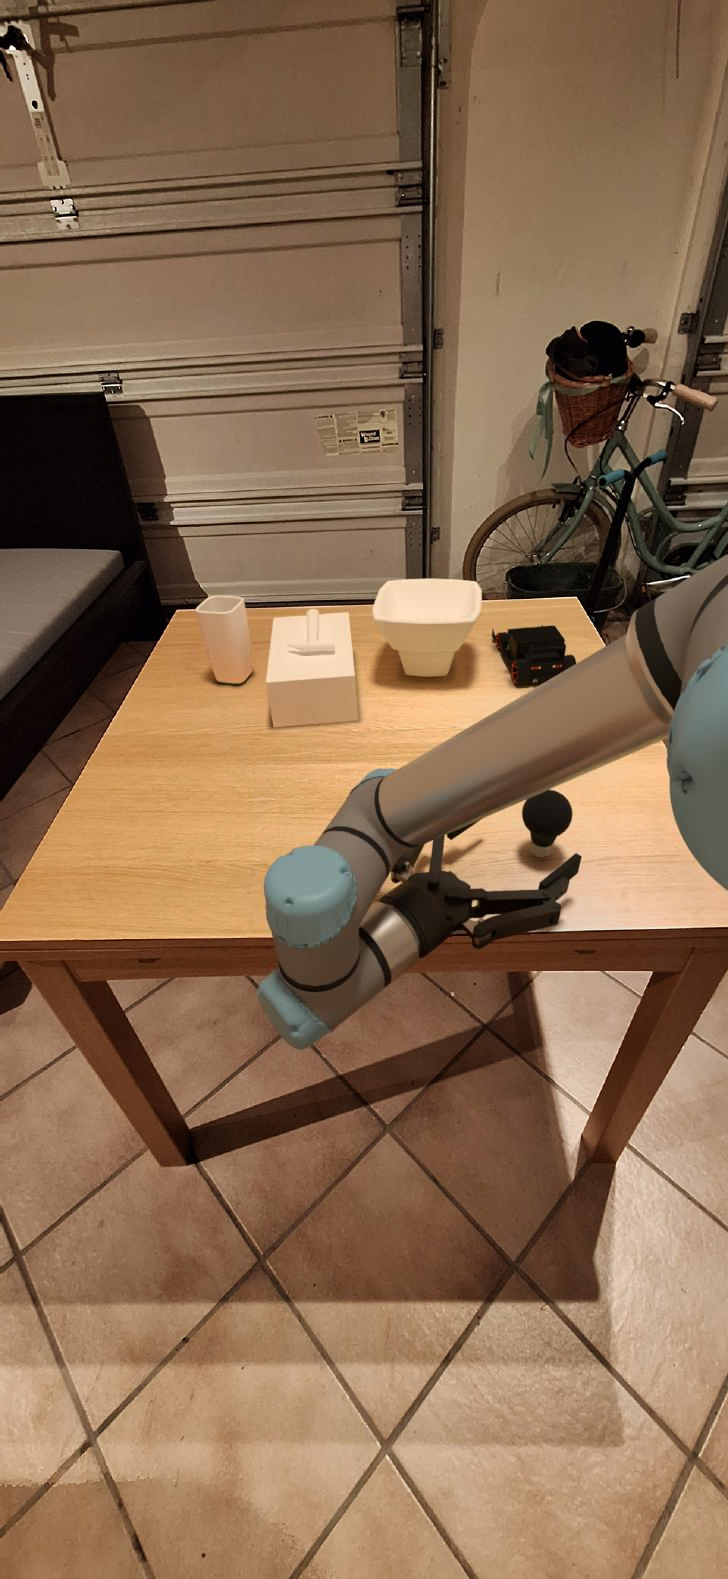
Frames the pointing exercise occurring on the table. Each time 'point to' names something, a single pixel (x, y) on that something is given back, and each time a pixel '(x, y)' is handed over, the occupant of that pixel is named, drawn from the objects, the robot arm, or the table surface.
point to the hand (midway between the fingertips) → (528, 832)
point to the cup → (226, 637)
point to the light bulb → (546, 819)
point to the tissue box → (311, 670)
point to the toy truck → (534, 653)
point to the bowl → (427, 620)
